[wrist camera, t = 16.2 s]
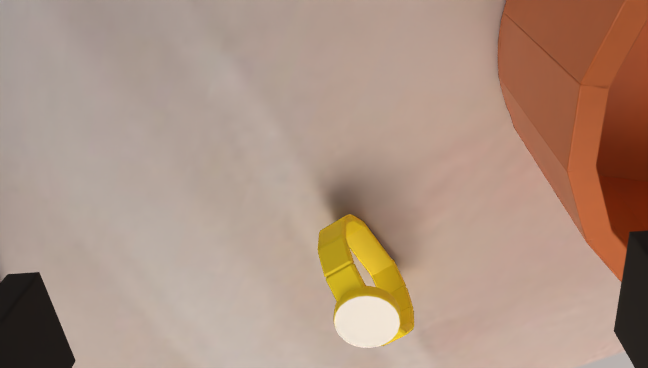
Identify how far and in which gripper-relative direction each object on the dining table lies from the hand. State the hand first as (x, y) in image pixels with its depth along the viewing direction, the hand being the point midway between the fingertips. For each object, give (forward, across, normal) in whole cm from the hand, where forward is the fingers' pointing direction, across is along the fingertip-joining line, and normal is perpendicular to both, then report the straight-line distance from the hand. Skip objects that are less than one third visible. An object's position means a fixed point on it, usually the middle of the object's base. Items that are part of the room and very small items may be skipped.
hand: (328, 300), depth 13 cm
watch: (+14, +1, -8) cm, 16 cm away
